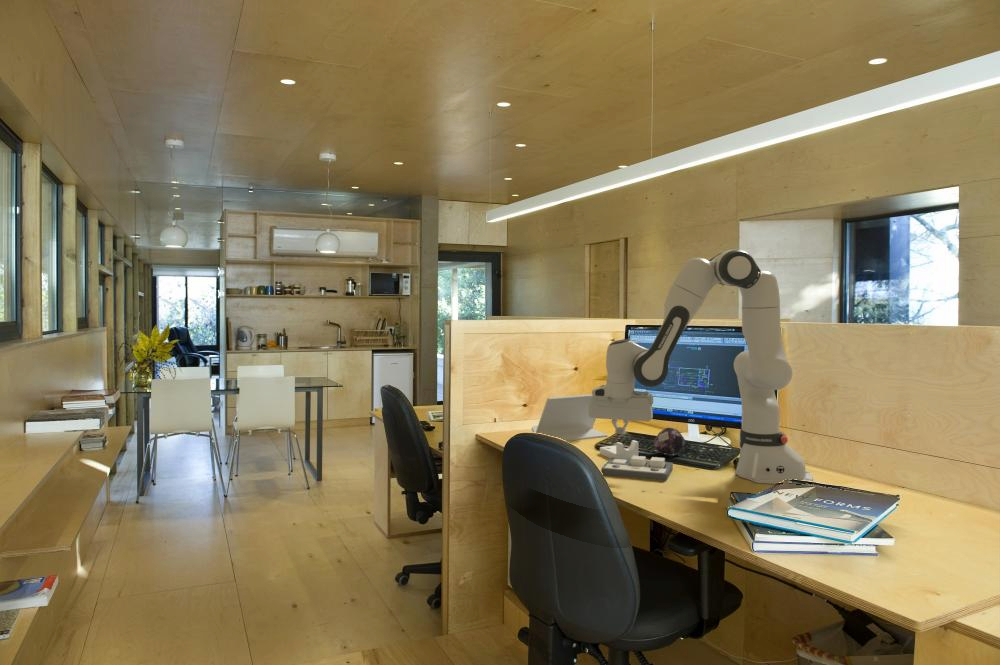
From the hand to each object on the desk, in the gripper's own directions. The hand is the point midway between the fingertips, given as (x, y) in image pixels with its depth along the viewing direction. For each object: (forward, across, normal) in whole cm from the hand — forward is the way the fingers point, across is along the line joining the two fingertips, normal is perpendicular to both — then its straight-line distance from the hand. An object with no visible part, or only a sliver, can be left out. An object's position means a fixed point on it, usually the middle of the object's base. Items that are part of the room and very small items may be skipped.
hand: (620, 433), depth 226 cm
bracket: (+13, +4, -14) cm, 20 cm away
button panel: (+13, -6, +2) cm, 14 cm away
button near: (+10, -12, 0) cm, 15 cm away
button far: (+12, 0, 0) cm, 12 cm away
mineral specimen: (+13, -12, -26) cm, 32 cm away
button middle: (+10, -6, 0) cm, 12 cm away
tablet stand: (+13, +30, -45) cm, 55 cm away
